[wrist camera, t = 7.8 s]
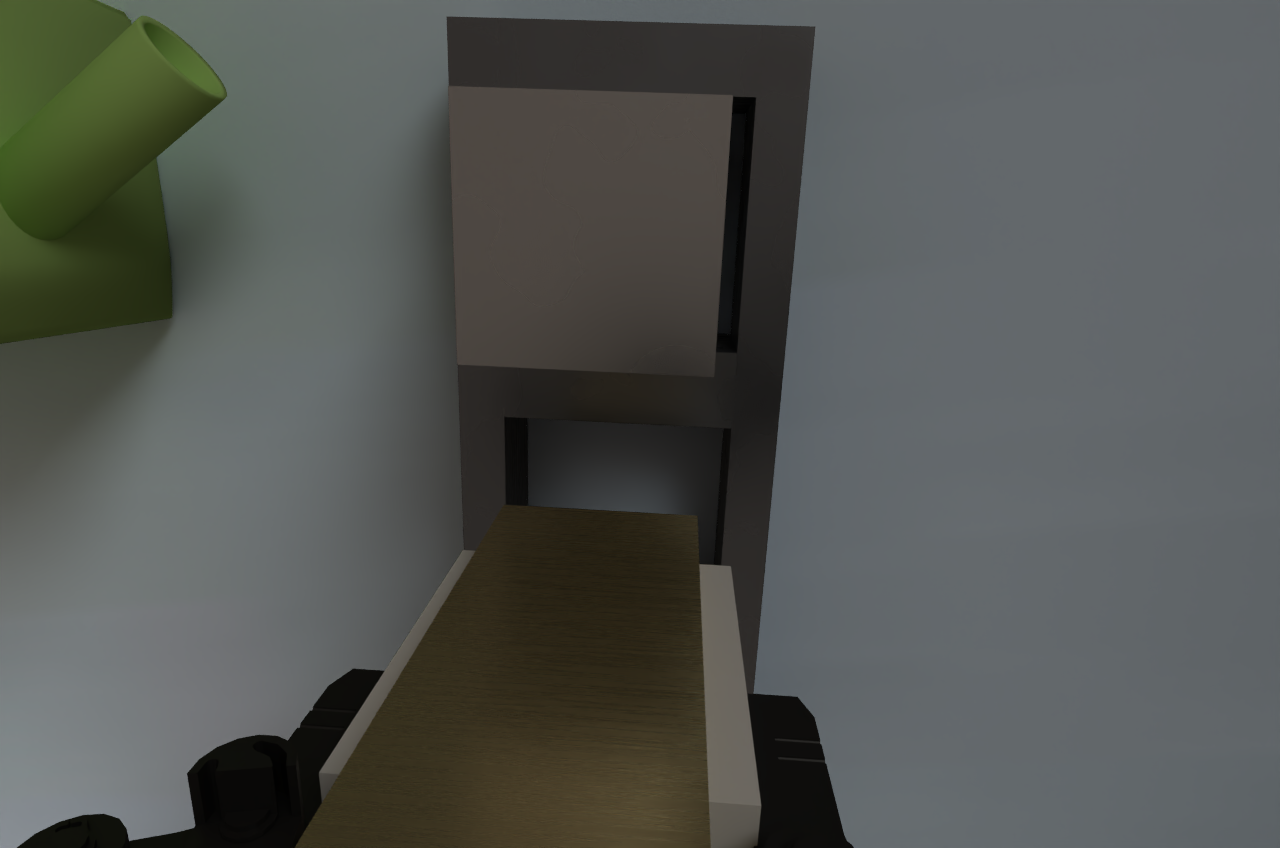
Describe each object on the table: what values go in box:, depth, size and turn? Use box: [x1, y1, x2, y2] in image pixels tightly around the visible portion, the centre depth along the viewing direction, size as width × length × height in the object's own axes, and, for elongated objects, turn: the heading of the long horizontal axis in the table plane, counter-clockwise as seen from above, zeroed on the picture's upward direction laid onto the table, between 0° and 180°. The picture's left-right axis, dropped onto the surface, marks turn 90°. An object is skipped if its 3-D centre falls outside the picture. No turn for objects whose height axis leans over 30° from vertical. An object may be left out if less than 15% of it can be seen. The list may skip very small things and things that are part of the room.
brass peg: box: [295, 505, 711, 848], centre depth 12 cm, size 4×4×10 cm
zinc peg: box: [448, 86, 733, 377], centre depth 16 cm, size 4×4×10 cm
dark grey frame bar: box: [447, 17, 815, 694], centre depth 22 cm, size 25×8×3 cm, turn 178°
